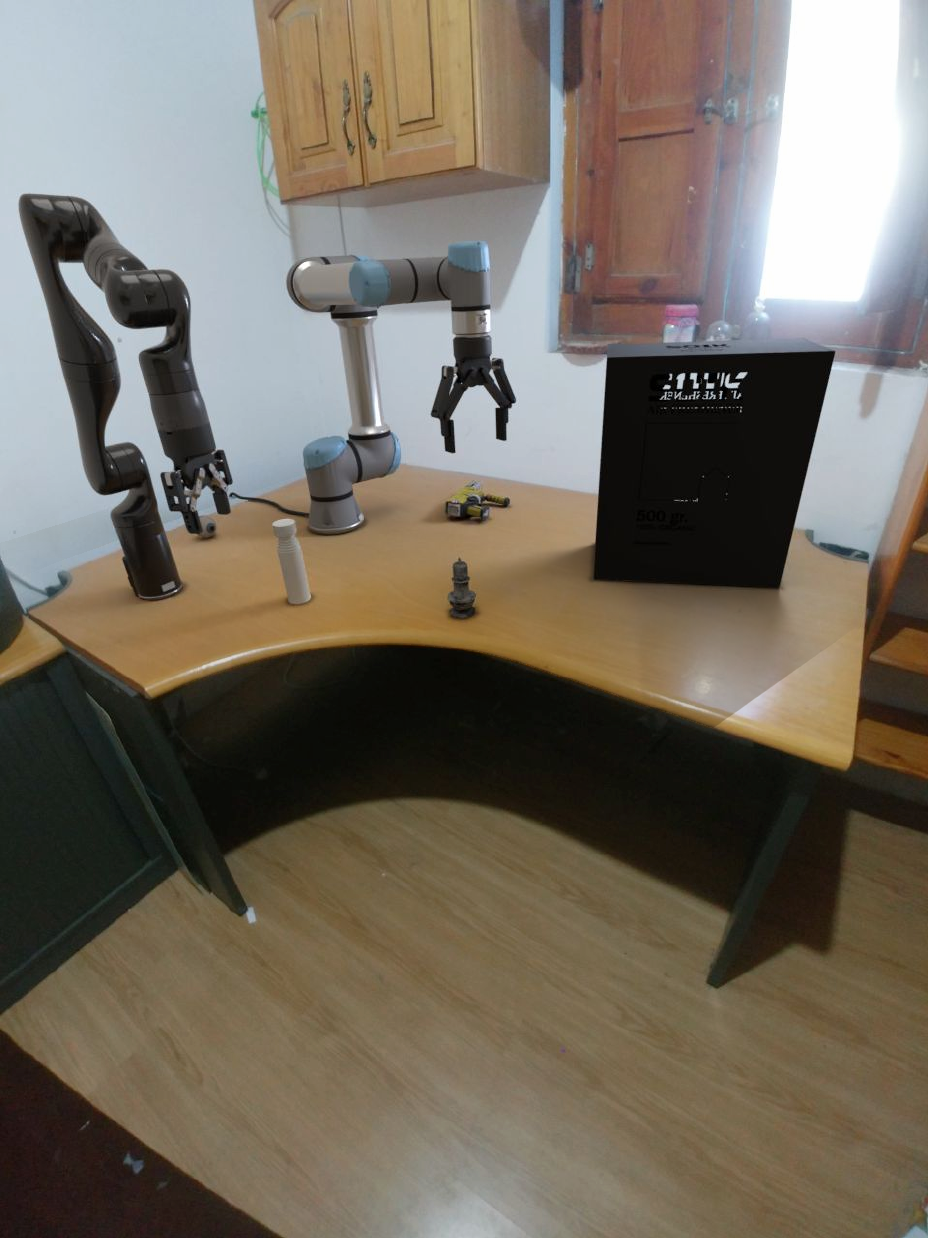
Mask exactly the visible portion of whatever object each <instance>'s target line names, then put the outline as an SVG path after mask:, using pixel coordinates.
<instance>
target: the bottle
mask: <svg viewBox="0 0 928 1238" xmlns="http://www.w3.org/2000/svg"><path fill="white" fill-rule="evenodd" d="M276 550H277V555H278V559H279V564H280V570H281V573H282V577H283V582H284V586H285V590H286V595H287V600H288V603H289V604H291V605H303V604H306V603H308V602H309V601H311V598H312V596H311V590H310V586H309V581H308V576H307V570H306V566H305V561H304V556H303V551H302V546H301V543H300V542H299V540H298V538H297V537H296V535H295V534H294V535H292V536H289V537H277V547H276Z"/></svg>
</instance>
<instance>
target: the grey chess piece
mask: <svg viewBox="0 0 928 1238" xmlns="http://www.w3.org/2000/svg"><path fill="white" fill-rule="evenodd" d="M470 580H471V577H470V576H469V572H468V564H467V563H466V562H465V561H464V560H462V558H461V557H460V556H459V557H458V558H457V561H455V562H453V564H452V576H451V582H452V584H453V590H452V591H450V592H449V593H448V594H447V597H446V598H447V600H448V602H449V604H450V606H451V608H450V609H449V614H450V615H451V616H452V617H453V618H460V619H463V618H470V617H472V616H473V615H475V613H476V611H477V610H476V607H474V606H473V605H474V604H475V601H476V598H477V593H476V592H475V591H474V590H471V589H470V584H469V581H470Z"/></svg>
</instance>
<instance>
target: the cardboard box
mask: <svg viewBox="0 0 928 1238" xmlns="http://www.w3.org/2000/svg"><path fill="white" fill-rule="evenodd" d="M835 356H836V350H834V349H831V348H829V347H827V346H824V345H821V344H819V343H816V342H814V341H812V340H810V339H806V338H804V337H799V338H798V337H797V338H796V337H795V338H794V337H793V338H767V339H766V338H765V339H737V340H736V339H735V340H732V339H731V340H707V341H705V340H703V341H675V342H672V341H671V342H670V341H669V342H648V343H647V342H646V343H645V342H644V343H643V342H642V343H639V342H638V343H613V344H612V343H611V344H609V343H607V349H606V363H605V364H606V365H605V367H606V368H605V381H604V396H603V411H602V412H603V413H602V429H601V444H600V445H601V446H600V461H599V477H598V479H599V480H598V494H597V507H596V508H597V509H596V511H597V512H596V523H595V524H596V525H595V538H594V539H595V540H594V559H593V561H594V562H593V579H592V580H595V581H612V582H613V581H616V582H617V581H618V582H636V583H638V582H639V583H660V584H661V583H662V584H680V585H681V584H682V585H683V584H684V585H706V586H726V587H727V586H729V587H748V588H749V587H750V588H751V587H752V588H770V589H771V588H772V589H780V588H781V583H782V579H783V575H784V571H785V567H786V562H787V558H788V554H789V550H790V545H791V542H792V539H793V538H792V537H793V533H794V529H795V524H796V521H797V516H798V512H799V507H800V505H801V504H800V503H801V499H802V495H803V491H804V488H805V487H804V486H805V483H806V478H807V475H808V474H807V473H808V469H809V465H810V461H811V457H812V452H813V450H814V449H813V448H814V444H815V441H816V437H817V431H818V428H819V423H820V420H821V415H822V410H823V407H824V402H825V398H826V393H827V389H828V385H829V381H830V377H831V372H832V368H833V365H834V360H835ZM741 373H746V374H745V375H744V377H741V378H738V376H739V374H741ZM682 374H684V378H683V381H682V385H681V386H682V388H678V385H679V384H678V383H679V379H678V377H679V376H680V375H682ZM692 374H696V378H695V379H694V378H691V376H692ZM706 374H707V378H705V375H706ZM723 375H724V376H723ZM727 377H729V378H728V381H727V382H728V385H729V384H731V385H732V384H738V385H737V387H727V385H726V379H727ZM722 379H723V380H722ZM694 384H696V385H697V384H698V387H695V388H694ZM708 384H713V388H712V387H711V388H710V387H709V388H708ZM666 386H668V387H669V388H665V387H666Z"/></svg>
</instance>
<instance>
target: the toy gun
mask: <svg viewBox="0 0 928 1238" xmlns="http://www.w3.org/2000/svg"><path fill="white" fill-rule="evenodd" d="M485 501H486V502H488V503H492V504H496V505H497V504H498V505H502V506H504V507H508V506H509V505H510V504H511V498H510V497H507V496H506V497H505V496H504V497H503V496H499V495H496V494H492V493H487V494H486V495H485V494H484V491H483V482H481V481H479V480H478V481H477V480H472V481H471V482H469V484H467V485H465V486H464V487H462V488H461V489H460V490H459V491H458V492H456V493H455V494H454V495H453V496H451V497H450V498H448V500H447V501H445V502H444V514H445V515H446V516H449V518H454V519H456V518H465V517H469V516H473V517H476V518H479V521H485V520H487V519H488V518H489V517H490V508H491V506H490V505H485V506H484V505H483V504H482V503H483V502H485Z"/></svg>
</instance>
